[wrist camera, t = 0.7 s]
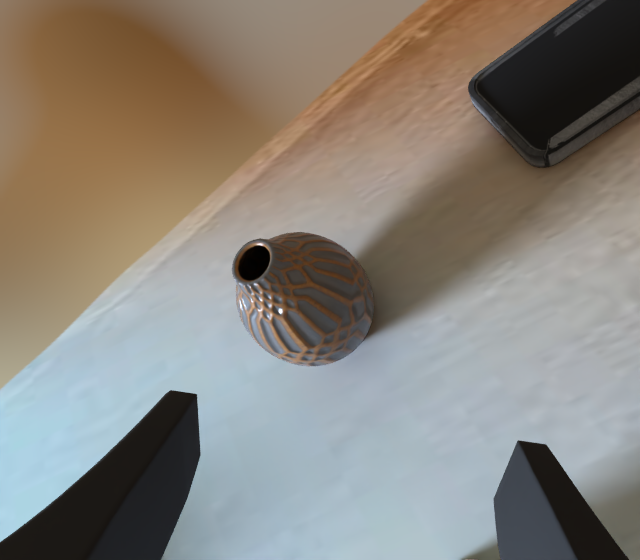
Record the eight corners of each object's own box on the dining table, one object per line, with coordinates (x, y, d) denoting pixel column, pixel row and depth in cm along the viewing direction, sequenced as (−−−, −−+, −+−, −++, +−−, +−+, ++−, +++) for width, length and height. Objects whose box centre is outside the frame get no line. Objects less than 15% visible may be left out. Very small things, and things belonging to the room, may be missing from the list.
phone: (823, -28, 24) (537, 163, 27) (815, -8, 25) (539, 174, 28) (694, -87, 29) (459, 83, 32) (691, -68, 29) (463, 95, 32)
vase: (368, 248, 32) (298, 171, 25) (406, 348, 28) (336, 290, 21) (275, 297, 34) (185, 238, 27) (300, 396, 30) (203, 358, 23)
